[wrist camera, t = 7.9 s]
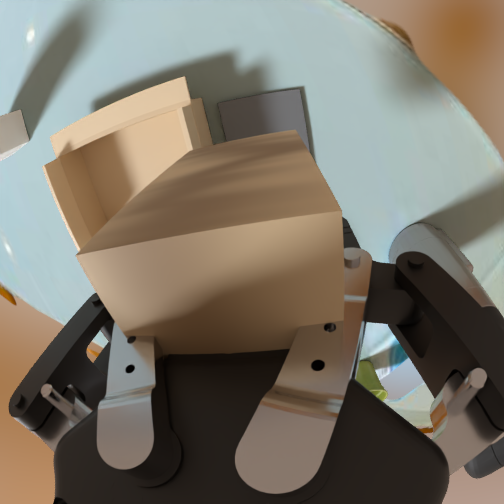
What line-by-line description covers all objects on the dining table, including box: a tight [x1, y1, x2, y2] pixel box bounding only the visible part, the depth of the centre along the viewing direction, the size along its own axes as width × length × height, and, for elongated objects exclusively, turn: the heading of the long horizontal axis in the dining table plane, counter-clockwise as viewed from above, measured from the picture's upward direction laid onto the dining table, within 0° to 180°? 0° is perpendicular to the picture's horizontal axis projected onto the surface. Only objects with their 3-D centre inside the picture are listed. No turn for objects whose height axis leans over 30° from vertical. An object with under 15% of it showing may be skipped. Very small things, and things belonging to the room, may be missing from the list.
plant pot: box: [356, 361, 388, 401], centre depth 49 cm, size 9×9×9 cm
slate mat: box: [218, 89, 310, 152], centre depth 29 cm, size 9×11×1 cm
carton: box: [42, 76, 213, 251], centre depth 28 cm, size 19×18×8 cm
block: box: [76, 130, 344, 359], centre depth 10 cm, size 5×8×9 cm, turn 12°
